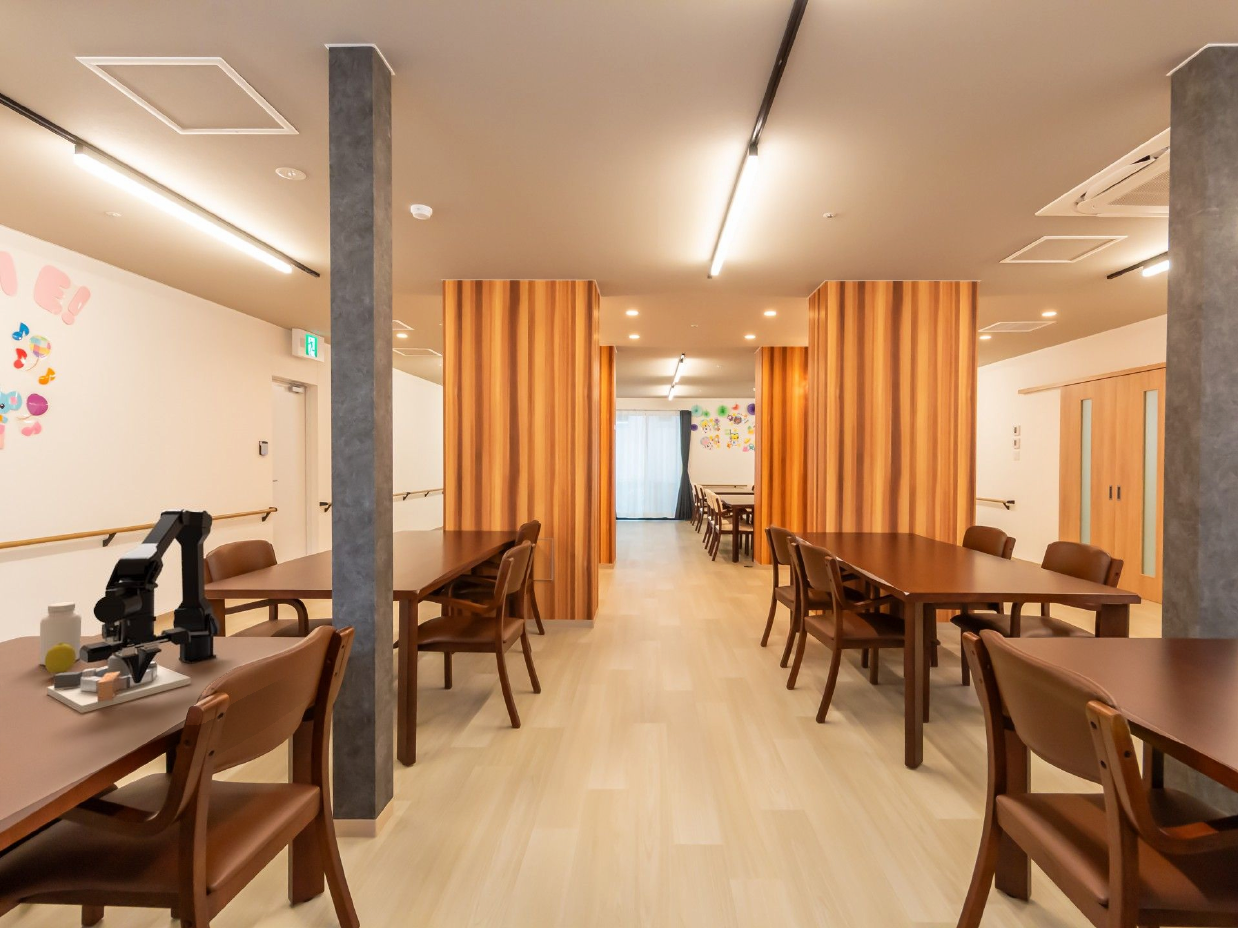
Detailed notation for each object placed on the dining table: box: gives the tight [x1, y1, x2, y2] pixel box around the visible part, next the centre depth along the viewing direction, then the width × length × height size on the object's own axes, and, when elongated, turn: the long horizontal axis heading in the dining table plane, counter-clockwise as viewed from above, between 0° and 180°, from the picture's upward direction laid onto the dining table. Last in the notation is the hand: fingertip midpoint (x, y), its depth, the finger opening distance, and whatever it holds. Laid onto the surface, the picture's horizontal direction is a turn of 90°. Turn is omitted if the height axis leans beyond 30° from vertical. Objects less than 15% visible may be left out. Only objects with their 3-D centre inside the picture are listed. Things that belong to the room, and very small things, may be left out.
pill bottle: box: [38, 601, 82, 666], centre depth 159 cm, size 8×8×15 cm
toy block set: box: [81, 660, 158, 702], centre depth 137 cm, size 20×13×4 cm, turn 29°
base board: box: [46, 655, 191, 714], centre depth 140 cm, size 20×20×8 cm
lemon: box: [44, 643, 76, 675], centre depth 148 cm, size 6×6×8 cm
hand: (137, 682), depth 134 cm, fingers closed
